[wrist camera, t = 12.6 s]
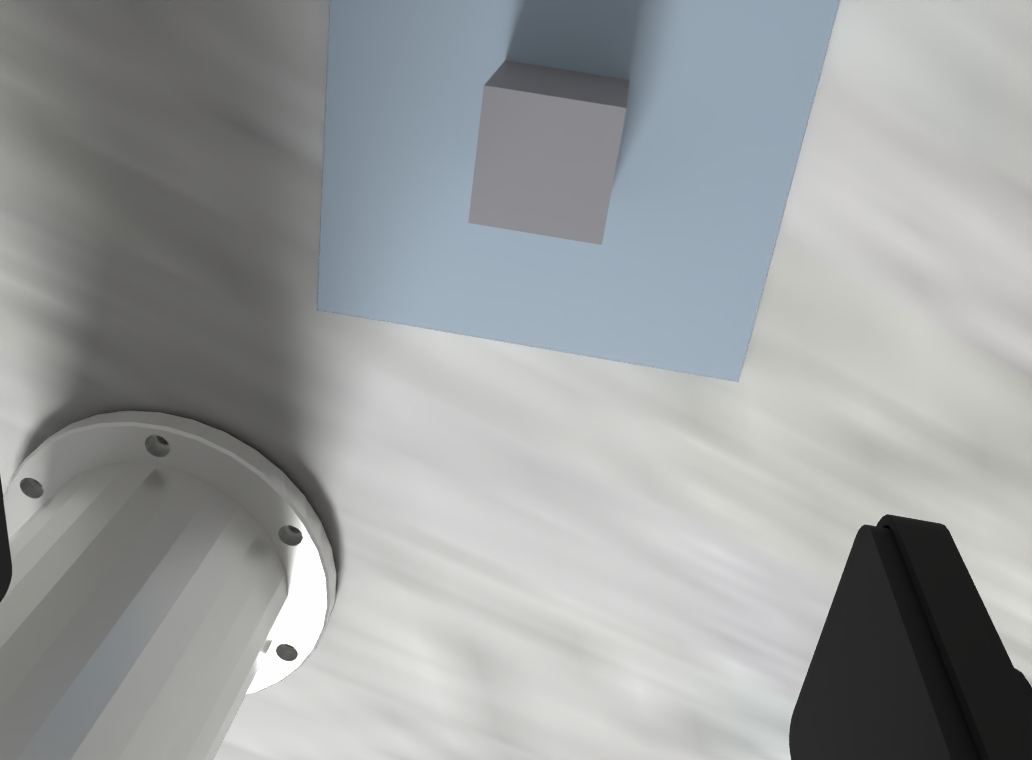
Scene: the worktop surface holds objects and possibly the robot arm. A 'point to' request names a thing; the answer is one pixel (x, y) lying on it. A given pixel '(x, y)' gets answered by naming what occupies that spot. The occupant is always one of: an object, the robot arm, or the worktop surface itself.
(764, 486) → the worktop surface
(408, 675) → the worktop surface
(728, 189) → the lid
